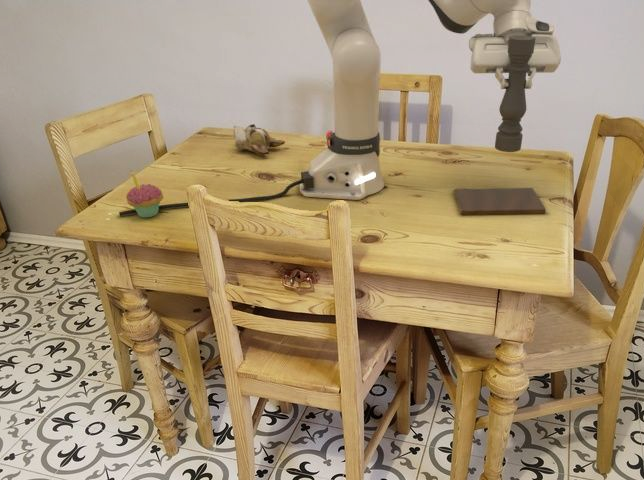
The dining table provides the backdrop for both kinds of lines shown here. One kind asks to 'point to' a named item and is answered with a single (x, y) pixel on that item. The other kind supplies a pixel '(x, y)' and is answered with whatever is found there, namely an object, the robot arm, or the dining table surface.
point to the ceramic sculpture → (254, 139)
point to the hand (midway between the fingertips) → (516, 87)
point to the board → (498, 201)
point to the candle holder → (514, 94)
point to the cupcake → (144, 198)
